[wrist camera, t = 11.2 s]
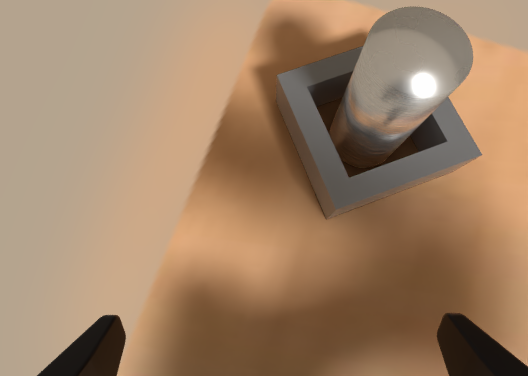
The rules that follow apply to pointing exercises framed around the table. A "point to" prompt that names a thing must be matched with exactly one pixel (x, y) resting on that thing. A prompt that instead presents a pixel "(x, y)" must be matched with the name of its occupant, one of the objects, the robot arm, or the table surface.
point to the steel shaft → (398, 82)
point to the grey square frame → (324, 152)
